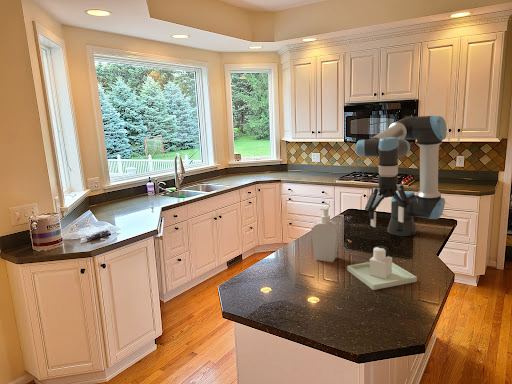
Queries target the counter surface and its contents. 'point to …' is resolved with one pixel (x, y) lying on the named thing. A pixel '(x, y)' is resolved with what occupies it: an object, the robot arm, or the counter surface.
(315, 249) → the soap bottle
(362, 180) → the counter surface
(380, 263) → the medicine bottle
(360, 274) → the tray
